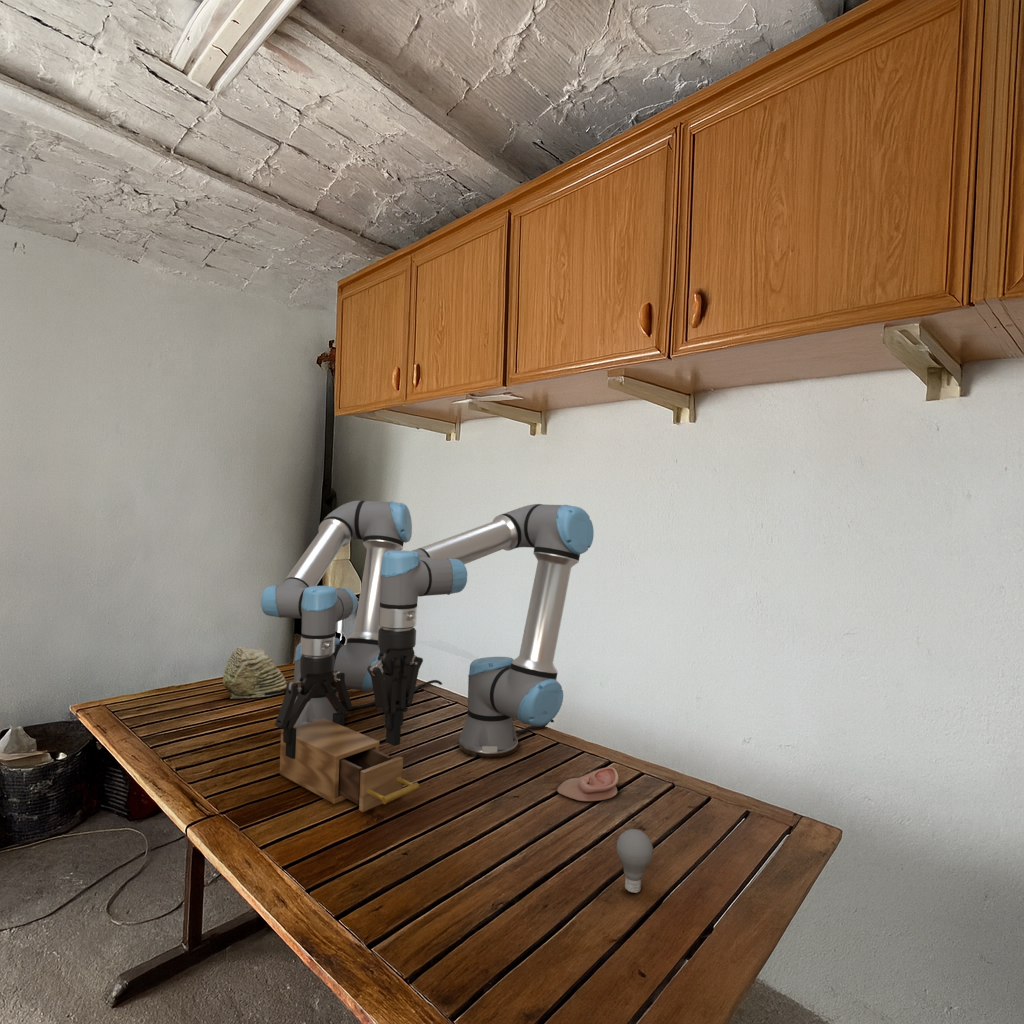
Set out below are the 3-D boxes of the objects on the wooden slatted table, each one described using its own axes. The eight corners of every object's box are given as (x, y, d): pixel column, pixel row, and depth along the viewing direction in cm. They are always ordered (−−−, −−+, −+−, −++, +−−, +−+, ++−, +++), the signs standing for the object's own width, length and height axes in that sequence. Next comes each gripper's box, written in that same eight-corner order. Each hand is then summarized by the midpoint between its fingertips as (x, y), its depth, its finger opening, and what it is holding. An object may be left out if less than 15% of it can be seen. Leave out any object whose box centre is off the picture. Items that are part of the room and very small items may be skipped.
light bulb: (610, 879, 108) (613, 822, 108) (644, 879, 109) (647, 822, 109) (619, 902, 102) (622, 840, 102) (655, 901, 103) (658, 840, 103)
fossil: (218, 695, 195) (220, 647, 195) (278, 685, 208) (279, 640, 207) (228, 703, 189) (230, 653, 188) (289, 692, 201) (290, 645, 201)
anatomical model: (555, 779, 137) (562, 758, 149) (554, 797, 138) (561, 775, 149) (617, 787, 135) (619, 766, 146) (616, 806, 135) (618, 783, 146)
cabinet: (378, 786, 140) (379, 741, 140) (334, 804, 131) (335, 756, 131) (322, 759, 153) (324, 718, 152) (279, 773, 144) (280, 730, 144)
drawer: (421, 804, 130) (422, 766, 130) (382, 823, 122) (383, 782, 122) (345, 767, 146) (347, 733, 146) (306, 782, 138) (307, 745, 138)
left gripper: (279, 667, 133) (275, 769, 134) (369, 649, 152) (366, 739, 152) (260, 660, 138) (256, 759, 138) (350, 643, 156) (347, 731, 157)
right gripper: (384, 635, 120) (379, 758, 121) (433, 626, 131) (429, 739, 131) (359, 628, 125) (354, 747, 126) (409, 620, 135) (404, 730, 136)
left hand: (314, 749), depth 145 cm, fingers closed on cabinet, 11 cm apart
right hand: (392, 743), depth 128 cm, fingers closed
